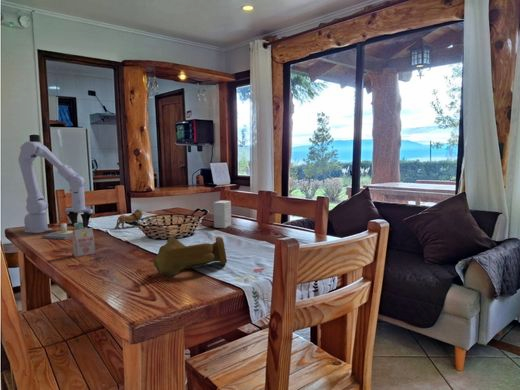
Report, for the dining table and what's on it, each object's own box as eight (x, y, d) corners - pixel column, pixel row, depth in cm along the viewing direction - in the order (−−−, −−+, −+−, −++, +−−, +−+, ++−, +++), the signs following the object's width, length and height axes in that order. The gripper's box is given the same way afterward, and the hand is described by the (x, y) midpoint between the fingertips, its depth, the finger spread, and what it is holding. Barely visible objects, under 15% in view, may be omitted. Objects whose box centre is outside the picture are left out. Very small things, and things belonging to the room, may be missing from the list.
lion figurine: (141, 224, 193) (140, 208, 192) (145, 226, 189) (144, 209, 188) (112, 228, 184) (111, 211, 183) (116, 230, 180) (115, 212, 179)
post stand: (42, 238, 165) (41, 226, 164) (64, 231, 178) (63, 220, 177) (65, 239, 162) (64, 227, 162) (85, 232, 175) (84, 221, 174)
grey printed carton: (73, 255, 138) (71, 229, 137) (92, 251, 142) (90, 227, 141) (76, 257, 135) (74, 231, 134) (95, 253, 140) (93, 228, 138)
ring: (71, 230, 180) (71, 224, 179) (79, 228, 185) (79, 222, 185) (81, 231, 178) (81, 224, 178) (89, 228, 184) (88, 222, 183)
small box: (220, 224, 193) (220, 200, 191) (231, 225, 191) (231, 200, 189) (213, 227, 185) (213, 202, 184) (224, 228, 183) (224, 202, 181)
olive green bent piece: (160, 240, 130) (221, 228, 132) (166, 276, 128) (227, 264, 130) (149, 237, 111) (219, 223, 114) (155, 279, 109) (227, 264, 112)
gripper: (96, 199, 182) (98, 225, 184) (71, 198, 185) (73, 224, 187) (86, 201, 175) (88, 228, 177) (61, 200, 179) (63, 227, 180)
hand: (80, 226), depth 182 cm, fingers closed on ring, 6 cm apart
